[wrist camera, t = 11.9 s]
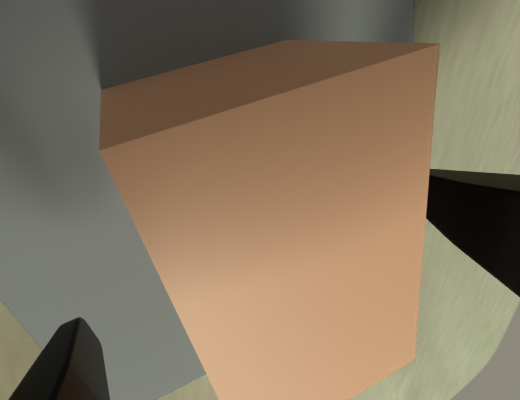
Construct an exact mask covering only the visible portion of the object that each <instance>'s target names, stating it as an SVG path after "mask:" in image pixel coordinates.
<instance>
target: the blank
mask: <svg viewBox="0 0 520 400" xmlns="http://www.w3.org/2000/svg"><path fill="white" fill-rule="evenodd" d="M439 45H440V44H429V43H392V42H354V41H317V40H284V41H280V42H277V43H273V44H269V45H265V46H262V47H258V48H254V49H251V50H247V51H243V52H239V53H236V54H232V55H228V56H225V57H221V58H217V59H213V60H210V61H206V62H202V63H199V64H195V65H191V66H187V67H184V68H180V69H176V70H173V71H169V72H165V73H162V74H158V75H154V76H150V77H147V78H143V79H139V80H136V81H132V82H128V83H124V84H121V85H117V86H113V87H110V88H106V89H102V90H101V106H100V133H99V152H100V154H101V156H102V158H103V160H104V162H105V165H106V167H107V169H108V171H109V173H110V175H111V177H112V179H113V181H114V183H115V185H116V187H117V189H118V191H119V194H120V196H121V198H122V200H123V202H124V204H125V206H126V208H127V210H128V212H129V214H130V216H131V218H132V221H133V223H134V225H135V227H136V229H137V231H138V233H139V235H140V237H141V239H142V241H143V243H144V245H145V247H146V250H147V252H148V254H149V256H150V258H151V260H152V262H153V264H154V266H155V268H156V270H157V272H158V274H159V277H160V279H161V281H162V283H163V285H164V287H165V289H166V291H167V293H168V295H169V297H170V299H171V301H172V303H173V306H174V308H175V310H176V312H177V314H178V316H179V318H180V320H181V322H182V324H183V326H184V328H185V330H186V333H187V335H188V337H189V339H190V341H191V343H192V345H193V347H194V349H195V351H196V353H197V355H198V357H199V359H200V362H201V364H202V366H203V368H204V370H205V372H206V374H207V376H208V378H209V380H210V382H211V384H212V386H213V388H214V391H215V393H216V395H217V397H218V399H219V400H350V399H351V398H353V397H354V396H356V395H358V394H359V393H361V392H363V391H364V390H366V389H368V388H369V387H371V386H373V385H374V384H376V383H377V382H379V381H381V380H382V379H384V378H386V377H387V376H389V375H391V374H392V373H394V372H396V371H397V370H399V369H400V368H402V367H404V366H405V365H407V364H409V363H410V362H412V361H414V360H415V351H416V338H417V325H418V312H419V300H420V287H421V274H422V261H423V249H424V236H425V223H426V210H427V198H428V185H429V172H430V159H431V147H432V134H433V121H434V108H435V96H436V83H437V70H438V57H439Z"/></svg>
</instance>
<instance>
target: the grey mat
mask: <svg viewBox="0 0 520 400" xmlns="http://www.w3.org/2000/svg"><path fill="white" fill-rule="evenodd" d="M413 23H414V0H0V301H1V302H2V303H3V304H4V305H5V306H6V308H7V309H8V310H9V311H10V312H11V313H12V315H13V316H14V317H15V318H16V319H17V320H18V322H19V323H20V324H21V325H22V326H23V327H24V329H25V330H26V331H27V332H28V333H29V334H30V336H31V337H32V338H33V339H34V340H35V341H36V343H37V344H38V345H39V346H40V347H41V348H42V350H43V349H44V348H45V346H46V345H47V343H48V342H49V340H50V339H51V337H52V336H53V335H54V333H55V332H56V330H57V329H58V327H59V326H60V325H62V324H63V323H66V322H68V321H70V320H73V319H75V318H77V317H81V318H83V319H84V320H85V321H86V322H87V323H88V325H89V326H90V328H91V329H92V331H93V332H94V333H95V335H96V336H97V338H98V339H99V341H100V343H101V346H102V350H103V356H104V363H105V369H106V376H107V382H108V389H109V395H110V400H157V399H159V398H161V397H163V396H165V395H166V394H168V393H170V392H172V391H174V390H176V389H178V388H180V387H182V386H184V385H186V384H188V383H190V382H192V381H194V380H196V379H197V378H199V377H201V376H203V375H205V374H206V372H205V370H204V368H203V366H202V364H201V362H200V359H199V357H198V355H197V353H196V351H195V349H194V347H193V345H192V343H191V341H190V339H189V337H188V335H187V333H186V330H185V328H184V326H183V324H182V322H181V320H180V318H179V316H178V314H177V312H176V310H175V308H174V306H173V303H172V301H171V299H170V297H169V295H168V293H167V291H166V289H165V287H164V285H163V283H162V281H161V279H160V277H159V274H158V272H157V270H156V268H155V266H154V264H153V262H152V260H151V258H150V256H149V254H148V252H147V250H146V247H145V245H144V243H143V241H142V239H141V237H140V235H139V233H138V231H137V229H136V227H135V225H134V223H133V221H132V218H131V216H130V214H129V212H128V210H127V208H126V206H125V204H124V202H123V200H122V198H121V196H120V194H119V191H118V189H117V187H116V185H115V183H114V181H113V179H112V177H111V175H110V173H109V171H108V169H107V167H106V165H105V162H104V160H103V158H102V156H101V154H100V152H99V133H100V106H101V90H102V89H106V88H110V87H113V86H117V85H121V84H124V83H128V82H132V81H136V80H139V79H143V78H147V77H150V76H154V75H158V74H162V73H165V72H169V71H173V70H176V69H180V68H184V67H187V66H191V65H195V64H199V63H202V62H206V61H210V60H213V59H217V58H221V57H225V56H228V55H232V54H236V53H239V52H243V51H247V50H251V49H254V48H258V47H262V46H265V45H269V44H273V43H277V42H280V41H284V40H317V41H354V42H392V43H413Z"/></svg>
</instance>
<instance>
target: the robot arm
mask: <svg viewBox="0 0 520 400" xmlns="http://www.w3.org/2000/svg"><path fill="white" fill-rule="evenodd" d="M426 218H427V219H428V220H429V221H430V222H431V223H432V224H433V225H434V226H435V227H436V228H437V229H438V230H439V231H440V232H441V233H442V234H443V235H444V236H445V237H446V238H447V239H448V240H450V241H451V242H452V243H453V244H454V245H455V246H456V247H458V248H459V249H460V250H461V251H463V252H464V253H465V254H466V255H468V256H469V257H470V258H471V259H473V260H474V261H475V262H476V263H478V264H479V265H480V266H481V267H483V268H484V269H485V270H486V271H488V272H489V273H490V274H491V275H493V276H494V277H495V278H496V279H498V280H499V281H500V282H501V283H503V284H504V285H505V286H506V287H508V288H509V289H510V290H511V291H513V292H514V293H515V294H516V295H518V296H519V297H520V175H513V174H498V173H484V172H469V171H454V170H440V169H430V172H429V185H428V198H427V210H426ZM9 400H110V395H109V389H108V382H107V376H106V369H105V363H104V356H103V350H102V346H101V343H100V341H99V339H98V338H97V336H96V335H95V333H94V332H93V331H92V329H91V328H90V326H89V325H88V323H87V322H86V321H85V320H84V319H83V318H81V317H77V318H75V319H73V320H70V321H68V322H66V323H63V324H62V325H60V326H59V327H58V329H57V330H56V332H55V333H54V335H53V336H52V337H51V339H50V340H49V342H48V343H47V345H46V346H45V348H44V349H43V350H42V352H41V353H40V355H39V356H38V358H37V359H36V361H35V362H34V363H33V365H32V366H31V368H30V369H29V371H28V372H27V374H26V375H25V376H24V378H23V379H22V381H21V382H20V384H19V385H18V387H17V388H16V389H15V391H14V392H13V394H12V395H11V397H10V398H9Z"/></svg>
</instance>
